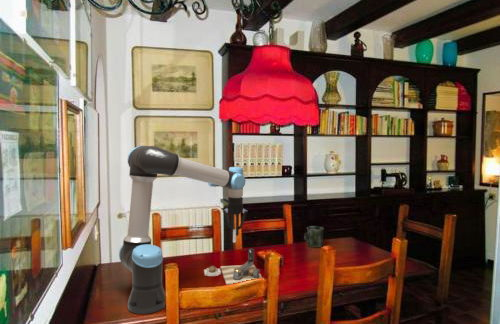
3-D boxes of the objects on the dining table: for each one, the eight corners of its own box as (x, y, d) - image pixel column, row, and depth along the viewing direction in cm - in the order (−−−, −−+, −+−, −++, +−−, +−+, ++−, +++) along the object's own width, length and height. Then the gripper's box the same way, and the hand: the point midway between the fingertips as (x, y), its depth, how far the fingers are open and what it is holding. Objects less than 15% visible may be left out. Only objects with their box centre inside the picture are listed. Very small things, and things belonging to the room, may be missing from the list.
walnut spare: (216, 274, 174) (216, 266, 173) (209, 274, 173) (209, 267, 173) (215, 271, 177) (215, 264, 177) (208, 271, 176) (208, 264, 176)
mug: (327, 246, 228) (327, 228, 227) (310, 250, 220) (310, 231, 219) (315, 242, 237) (316, 225, 236) (299, 245, 229) (299, 227, 229)
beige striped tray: (264, 283, 164) (264, 273, 164) (226, 286, 161) (226, 275, 161) (253, 267, 187) (253, 258, 187) (220, 269, 183) (220, 259, 183)
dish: (221, 277, 172) (221, 273, 172) (204, 278, 170) (204, 274, 170) (219, 271, 180) (219, 267, 180) (203, 272, 178) (203, 268, 178)
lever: (241, 280, 163) (241, 260, 163) (232, 278, 165) (232, 259, 165) (257, 267, 181) (257, 249, 181) (248, 266, 183) (249, 248, 183)
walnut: (256, 276, 169) (257, 268, 170) (250, 276, 168) (251, 268, 169) (252, 275, 172) (253, 268, 173) (246, 275, 170) (247, 267, 171)
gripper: (248, 196, 184) (247, 240, 185) (224, 195, 185) (223, 239, 185) (247, 198, 176) (246, 244, 177) (222, 197, 177) (221, 243, 178)
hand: (234, 241), depth 181 cm, fingers closed
